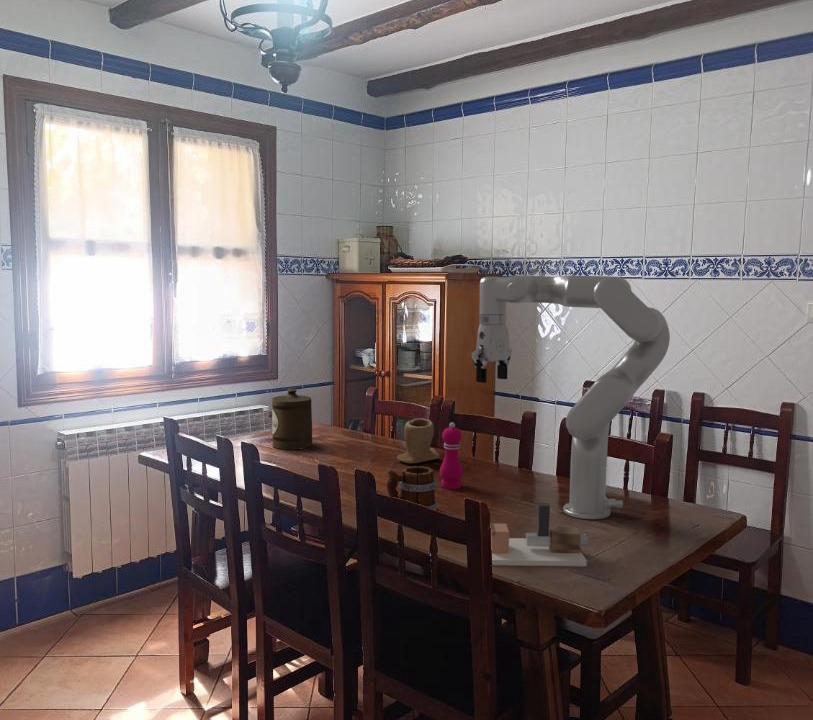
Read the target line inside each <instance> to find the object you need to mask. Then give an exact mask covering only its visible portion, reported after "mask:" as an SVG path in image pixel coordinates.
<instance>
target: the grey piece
mask: <svg viewBox="0 0 813 720" xmlns="http://www.w3.org/2000/svg"><path fill="white" fill-rule="evenodd" d="M536 505H537V508H536V516H537V517H536V532H525V538H526V545H527V546H540V547H551V537H552V536H551V534H550V533H549V527H550V512H551V511H550V509H551V508H550V504H549V502H537V503H536ZM580 534H581V536H580V548H588V547H589V545H588V543H589V536H588V535H587V534H586V533H581V532H580Z"/></svg>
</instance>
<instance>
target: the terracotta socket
mask: <svg viewBox="0 0 813 720" xmlns="http://www.w3.org/2000/svg"><path fill="white" fill-rule="evenodd" d="M489 523H490V522H489ZM490 528H491V550H492V553H509V538H510V531H509V528H508V525H507V523H490Z"/></svg>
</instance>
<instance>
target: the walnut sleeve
mask: <svg viewBox="0 0 813 720" xmlns="http://www.w3.org/2000/svg"><path fill="white" fill-rule="evenodd" d="M549 533H550V534H551V536H552V537H551V547H549V549H550V551H551V553H580V551H581V547H580V536H581V534H580V533H581V532H580V531H579V529H578V528H577V527H576V526H575V527H574V526H549Z"/></svg>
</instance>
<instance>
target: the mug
mask: <svg viewBox="0 0 813 720" xmlns="http://www.w3.org/2000/svg"><path fill="white" fill-rule="evenodd" d="M434 472H435V471H434V469H432V468H430V467H429V466H417V465H415V466H414V465H413V466H406V467H404V468H403V469H402V470H401V473H400V474H398V473H397V472H396V471H394V470H392V469H388V470H387V471H386V473H387V474H388V475H389V476H388V477H389V479H387V484H386V486H387V487H386V488H387V492H388V495H389V497H390V496H391V497H396V498H400V499H404V500H408V501H411V502H414V503H417V504H421V505H424V506H427V507H430V508H433V509H436V511H437V510H439V501H437V500H436V493H435V491H436V489H437V486H438V484H437V479H435V473H434ZM397 487H399V488H400V493H399V491H398V490H397Z"/></svg>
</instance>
